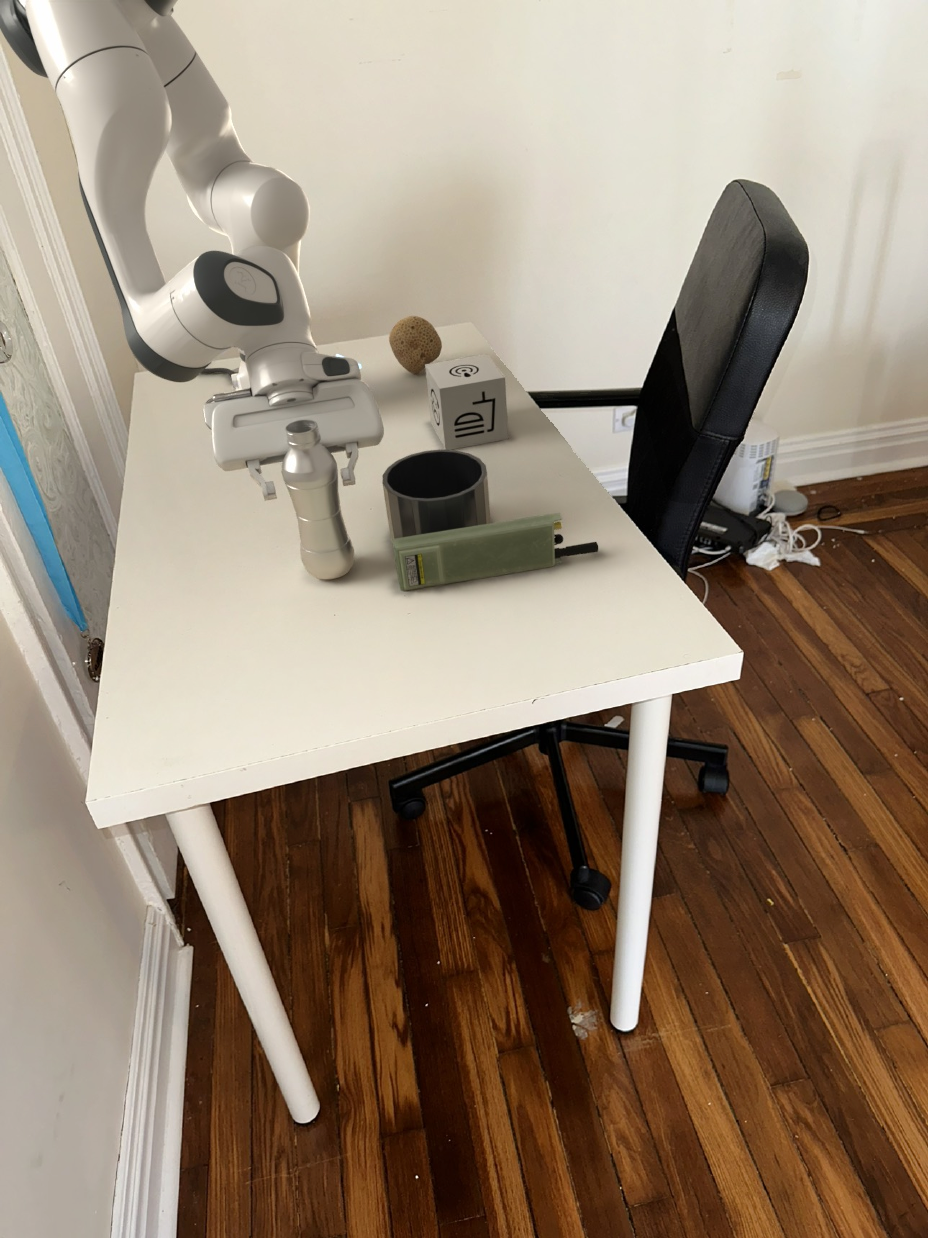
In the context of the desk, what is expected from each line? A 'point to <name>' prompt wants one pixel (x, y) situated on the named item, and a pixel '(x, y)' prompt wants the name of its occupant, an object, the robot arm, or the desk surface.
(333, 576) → the metal bottle
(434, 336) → the natural sponge
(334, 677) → the desk surface
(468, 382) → the icon cube
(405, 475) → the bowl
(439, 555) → the handheld radio
